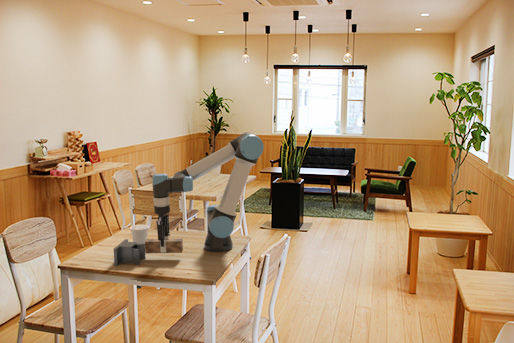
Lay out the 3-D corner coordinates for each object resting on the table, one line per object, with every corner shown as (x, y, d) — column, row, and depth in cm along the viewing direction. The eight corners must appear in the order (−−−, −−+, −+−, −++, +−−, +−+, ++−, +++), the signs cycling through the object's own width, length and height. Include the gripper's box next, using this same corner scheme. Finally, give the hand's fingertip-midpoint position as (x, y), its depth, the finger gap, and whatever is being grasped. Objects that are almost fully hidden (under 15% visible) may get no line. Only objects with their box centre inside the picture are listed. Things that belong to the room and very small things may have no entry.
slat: (182, 250, 255) (182, 238, 254) (181, 252, 251) (181, 241, 250) (147, 250, 255) (146, 239, 254) (145, 253, 251) (144, 241, 250)
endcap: (147, 256, 257) (147, 240, 256) (137, 266, 243) (136, 249, 241) (125, 255, 259) (125, 239, 257) (114, 265, 244) (113, 248, 242)
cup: (145, 250, 267) (144, 230, 265) (127, 249, 269) (126, 228, 267) (152, 244, 276) (151, 225, 274) (135, 243, 278) (134, 223, 276)
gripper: (159, 201, 258) (162, 245, 262) (148, 209, 241) (152, 256, 245) (174, 201, 257) (176, 245, 261) (164, 209, 240) (167, 256, 244)
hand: (164, 250), depth 253 cm, fingers closed on slat, 4 cm apart
